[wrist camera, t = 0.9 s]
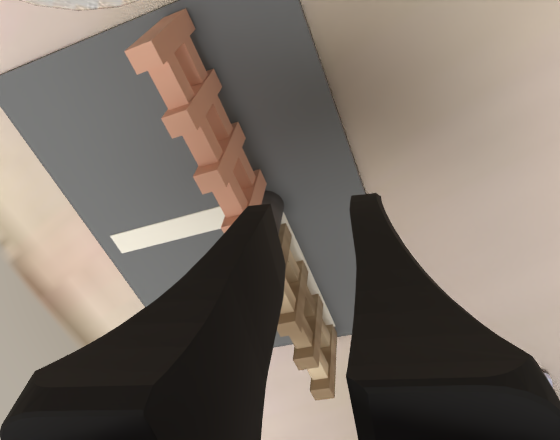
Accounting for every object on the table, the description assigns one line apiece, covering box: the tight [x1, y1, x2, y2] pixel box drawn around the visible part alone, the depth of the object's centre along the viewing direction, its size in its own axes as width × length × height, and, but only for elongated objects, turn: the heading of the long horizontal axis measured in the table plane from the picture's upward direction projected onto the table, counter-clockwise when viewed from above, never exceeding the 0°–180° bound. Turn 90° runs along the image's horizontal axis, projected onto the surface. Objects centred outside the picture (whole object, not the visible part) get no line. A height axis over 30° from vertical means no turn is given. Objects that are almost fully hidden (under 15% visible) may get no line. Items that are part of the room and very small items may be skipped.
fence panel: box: [124, 8, 267, 233], centre depth 19 cm, size 8×1×4 cm, turn 21°
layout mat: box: [0, 0, 366, 347], centre depth 25 cm, size 19×14×1 cm
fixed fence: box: [261, 191, 337, 400], centre depth 24 cm, size 10×2×4 cm, turn 21°
